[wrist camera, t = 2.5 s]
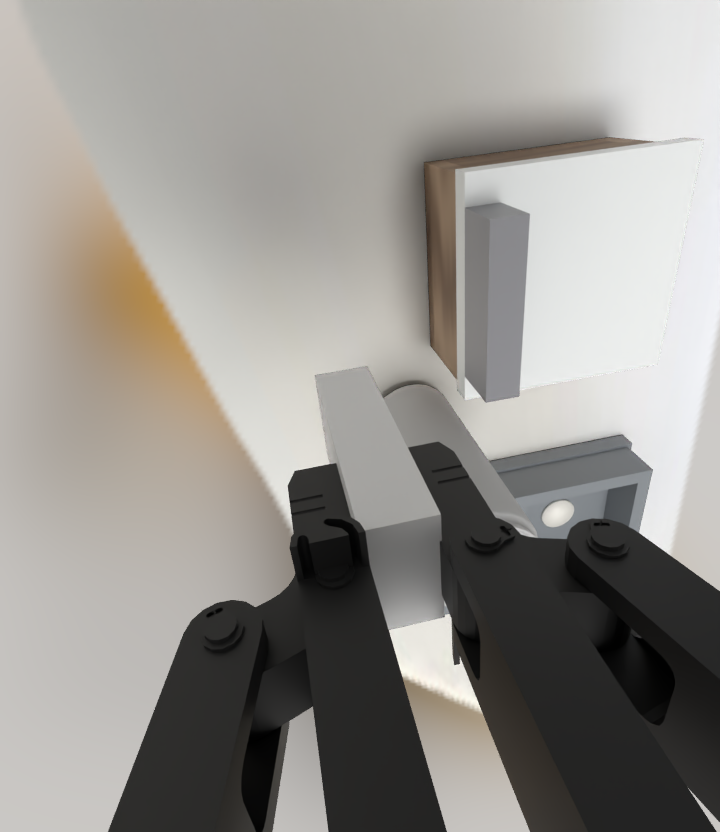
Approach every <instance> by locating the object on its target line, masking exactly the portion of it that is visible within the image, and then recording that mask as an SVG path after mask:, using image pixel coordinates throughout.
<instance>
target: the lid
mask: <svg viewBox="0 0 720 832" xmlns="http://www.w3.org/2000/svg"><path fill="white" fill-rule="evenodd" d="M703 143H704V139H695V138H680V139H673V140H666V141H659V142H651V143H644V144H637V145H629V146H622V147H615V148H608V149H600V150H593V151H586V152H578V153H571V154H564V155H557V156H549V157H542V158H535V159H527V160H520V161H513V162H506V163H498V164H491V165H484V166H476V167H469V168H462V169H455V191H456V304H457V391H458V392H459V393H460V395H461V396H462V397H463V399H464V400H470V399H475V398H481V397H482V398H483V400H484V401H485V402H486V403H487V402H492V401H497V400H503V399H508V398H513V397H519V392H520V390H524V389H529V388H535V387H540V386H545V385H551V384H556V383H562V382H567V381H572V380H578V379H583V378H589V377H594V376H599V375H605V374H610V373H616V372H621V371H626V370H632V369H637V368H642V367H648V366H653V365H658V363H659V358H660V353H661V348H662V343H663V339H664V334H665V329H666V324H667V319H668V314H669V309H670V304H671V300H672V295H673V290H674V285H675V280H676V275H677V270H678V265H679V260H680V256H681V251H682V246H683V241H684V236H685V231H686V226H687V221H688V216H689V212H690V207H691V202H692V197H693V192H694V187H695V182H696V177H697V172H698V168H699V163H700V158H701V153H702V148H703Z"/></svg>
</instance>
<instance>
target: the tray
mask: <svg viewBox="0 0 720 832" xmlns="http://www.w3.org/2000/svg"><path fill="white" fill-rule="evenodd" d="M651 142H653V141H642V140H632V139H621V138H610V137H609V138H601V139H594V140H587V141H579V142H572V143H564V144H557V145H550V146H542V147H535V148H527V149H520V150H513V151H505V152H498V153H490V154H483V155H476V156H468V157H461V158H453V159H446V160H438V161H431V162H424V177H425V204H426V232H427V259H428V287H429V315H430V342H431V347H432V348H433V350H434V351H435V352H436V353H437V355H438V356H439V357H440V359H441V360H442V361H443V363H444V364H445V365H446V366H447V368H448V369H449V370H450V372H451V373H452V374H453V376H454V377H455V378H456V379H457V304H456V191H455V169H462V168H469V167H476V166H484V165H491V164H498V163H506V162H513V161H520V160H527V159H535V158H542V157H549V156H557V155H564V154H571V153H578V152H586V151H593V150H600V149H608V148H615V147H622V146H629V145H637V144H644V143H651Z"/></svg>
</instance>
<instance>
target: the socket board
mask: <svg viewBox="0 0 720 832" xmlns="http://www.w3.org/2000/svg"><path fill="white" fill-rule="evenodd" d="M631 446H632V443H631V442H630V441H629V440H628V439H627V438H626V437H624V436H623V435H619V436H614V437H609V438H604V439H599V440H594V441H589V442H584V443H579V444H574V445H569V446H564V447H559V448H554V449H549V450H544V451H539V452H534V453H529V454H524V455H519V456H514V457H509V458H504V459H499V460H494V461H489V462H490V464H491V465H492V466H493V468H494V469H495V471H496V472H497V474H498V475H499V477H500V478H501V479H502V481H503V482H504V484H505V485H506V487H507V488H508V490H509V491H510V493H511V494H512V495H513V497H514V498H515V500H516V501H517V503H518V504H519V506H520V507H521V509H522V510H523V512H524V513H525V514H526V516H527V517H528V519H529V520H530V522H531V523H532V525H533V526H534V528H535V530H536V532H537V537H538V538H554V539H567V536H568V534H569V531H570V529H571V527H573V526H574V525H575V524H577V523H578V522H580V521H584V520H588V519H591V518H595V519H609V520H613V521H617V522H620V523H623V524H625V525H626V526H628V527H630V528H632V529H634V530H635V531H637V532H638V533H639V529H640V525H641V520H642V516H643V512H644V507H645V503H646V498H647V494H648V489H649V485H650V480H651V476H652V471H653V469H651V468H650V467H649V466H648V465H647V464H646V463H645V462H644V461H643V460H641V459H640V458H639V457H638V456H637V455H636V454H635V453H634V452H632V451H631ZM444 614H450V613H449V611H448V608H447V607H446V606H444Z"/></svg>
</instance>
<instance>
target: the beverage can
mask: <svg viewBox="0 0 720 832" xmlns="http://www.w3.org/2000/svg"><path fill="white" fill-rule="evenodd" d="M384 401H385V403H386V405H387V407H388V409H389V411H390V413H391V415H392V417H393V419H394V421H395V423H396V425H397V427H398V429H399V431H400V433H401V435H402V437H403V439H404V441H405V443H406V445H407V447H413V446H418V445H423V444H428V443H433V442H438V441H439V442H440V443H442V444H443V445H445V446H447V447H448V448H450V449H451V450H453V451H454V452H455V454H456V455H457V457H458V458H459V460H460V462H461V463H462V466H463V467H464V468H465V470H466V471H467V473H468V474H469V478H471V479H472V481H473V482H474V484H475V485H476V487H477V489H478V490H479V492H480V493H481V495H482V497H483V498H484V500H485V501H486V503H487V505H488V506H489V508H490V509H491V511H492V513H493V514H494V516H495V517H496V518H500V519H502V520H504V521H506V522H508V523H510V524H512V525H513V526H514V527H515V528H516V529H517V530H518V531H519V532H520V534H521V535H524V536H528V537H535V538H538V537H537V532H536V530H535V528H534V526H533V525H532V523H531V522H530V520H529V519H528V517H527V516H526V514H525V513H524V512H523V510H522V509H521V507H520V506H519V504H518V503H517V501H516V500H515V498H514V497H513V495H512V494H511V493H510V491H509V490H508V488H507V487H506V485H505V484H504V482H503V481H502V479H501V478H500V477H499V475H498V474H497V472H496V471H495V469H494V468H493V466H492V465H491V464H490V462H489V461H488V459H487V458H486V456H485V455H484V453H483V452H482V451H481V449H480V448H479V446H478V445H477V443H476V442H475V440H474V439H473V437H472V436H471V434H470V433H469V432H468V430H467V429H466V427H465V426H464V424H463V423H462V421H461V420H460V418H459V417H458V416H457V414H456V413H455V411H454V410H453V408H452V407H451V405H450V404H449V402H448V401H447V399H446V398H445V397H444V395H443V394H441V393H440V392H439V391H438V390H437V389H434V388H432V387H429V386H427V385H419V384H414V385H408V386H404V387H401V388H399V389H397V390H394V391H393V392H392V393H390V394H389V395H387V396H386V397H385V398H384ZM444 606H446V604H445V601H444ZM446 607H447V606H446Z"/></svg>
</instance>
